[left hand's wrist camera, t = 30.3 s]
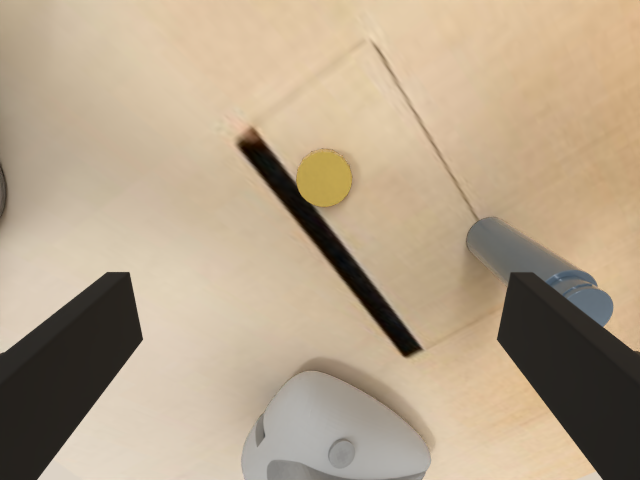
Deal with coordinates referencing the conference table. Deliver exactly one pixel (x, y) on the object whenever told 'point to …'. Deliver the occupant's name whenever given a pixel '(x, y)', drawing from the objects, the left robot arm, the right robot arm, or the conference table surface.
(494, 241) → the blue-grey bottle
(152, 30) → the conference table surface
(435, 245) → the conference table surface
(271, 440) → the projector
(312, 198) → the lid
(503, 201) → the conference table surface
